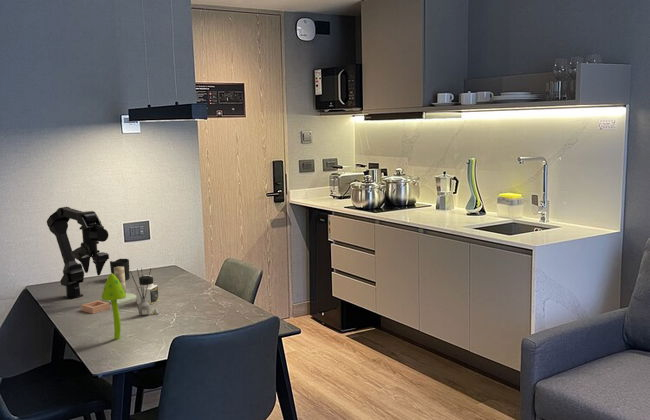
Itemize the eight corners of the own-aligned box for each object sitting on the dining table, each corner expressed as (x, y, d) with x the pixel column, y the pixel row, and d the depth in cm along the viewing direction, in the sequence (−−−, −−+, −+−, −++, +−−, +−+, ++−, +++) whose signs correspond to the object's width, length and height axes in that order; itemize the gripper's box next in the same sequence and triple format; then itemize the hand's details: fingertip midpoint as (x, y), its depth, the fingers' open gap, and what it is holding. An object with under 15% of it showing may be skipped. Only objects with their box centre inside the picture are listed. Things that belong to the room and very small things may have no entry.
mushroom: (123, 333, 238) (118, 269, 235) (132, 338, 232) (127, 272, 228) (101, 338, 233) (96, 273, 229) (110, 344, 226) (105, 277, 223)
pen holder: (112, 278, 326) (110, 259, 324) (130, 276, 328) (129, 258, 326) (110, 282, 317) (108, 263, 315) (129, 280, 319) (128, 261, 317)
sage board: (100, 300, 284) (100, 299, 284) (124, 293, 294) (124, 292, 294) (118, 304, 276) (117, 303, 276) (142, 297, 287) (142, 296, 286)
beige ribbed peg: (114, 298, 283) (112, 268, 281) (118, 296, 287) (115, 266, 286) (124, 298, 283) (122, 268, 281) (127, 296, 287) (125, 266, 285)
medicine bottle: (151, 304, 275) (149, 278, 273) (136, 304, 276) (134, 278, 274) (158, 300, 282) (157, 274, 280) (144, 299, 283) (142, 274, 281)
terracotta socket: (81, 310, 269) (81, 305, 269) (98, 305, 276) (98, 300, 276) (93, 313, 264) (92, 308, 264) (110, 308, 271) (109, 303, 271)
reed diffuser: (134, 318, 256) (130, 270, 253) (132, 313, 262) (129, 267, 260) (159, 314, 260) (156, 268, 257) (157, 310, 266) (154, 264, 263)
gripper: (61, 241, 277) (64, 275, 279) (85, 244, 266) (88, 280, 268) (83, 236, 286) (86, 270, 288) (108, 240, 275) (111, 274, 277)
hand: (92, 273), depth 280 cm, fingers open, 9 cm apart
